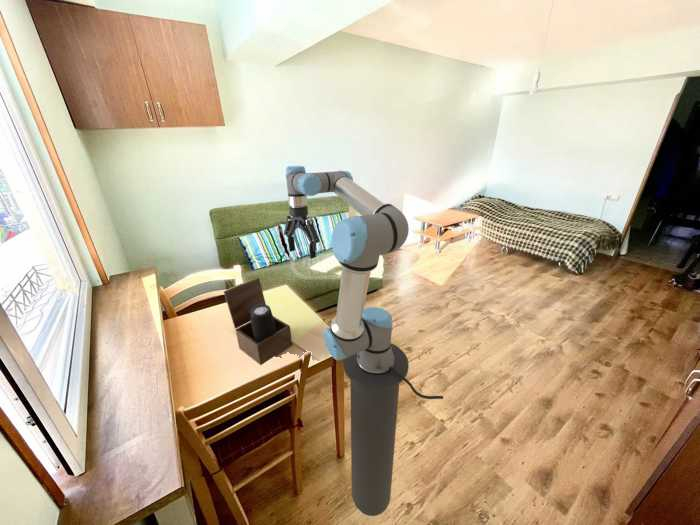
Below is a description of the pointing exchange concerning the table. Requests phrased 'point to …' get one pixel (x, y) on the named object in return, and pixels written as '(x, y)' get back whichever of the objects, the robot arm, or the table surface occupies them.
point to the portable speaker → (262, 322)
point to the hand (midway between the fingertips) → (302, 254)
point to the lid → (243, 301)
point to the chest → (264, 341)
